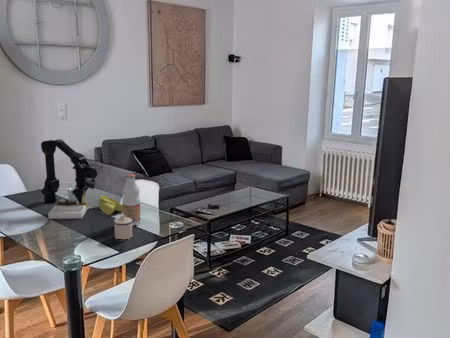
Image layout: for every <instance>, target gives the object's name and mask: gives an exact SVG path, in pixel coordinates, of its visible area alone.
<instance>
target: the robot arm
mask: <svg viewBox="0 0 450 338" xmlns="http://www.w3.org/2000/svg"><path fill="white" fill-rule="evenodd" d="M40 147H41V148H40V149H41V152H42V153H43V154H44V158H45V172H46V178H45V181H44V183H43V184H44V186H43V188H42V189H41V190H40V192H41V195H43V199H44V201H43V204H55V203H57V202H58V195H57V192H58V191H59V188H60V186H61V184H60V179H58V178H57V176H56V170H55V153H56V151H57V148H58V149H59V150H60V151H61V152H62V153H64V154H65V155H66V156H67V157H68V158H69V159H70V162H71V163H72V164H73V165H74V166H73V167H72V169H71V170H75V171H74V172H75V179H74V181H75V186H74V188H73V190H72V191H71V192H72V195H74V196H75V198H76V201H77V202H79V203H80V204H81V203H82V196H83V195H84V192H85V195H84V197H85V198H86V193H87V190H89V188H90V189H91V190H94V189H95V188H96V184H97V182H96V178H97V177H98V171H97V170H96V169H95V167H94V166H91V164H90V162H89V161H88V159H87V157H86V156H85V155H84V154H82V153H79V152H77V151H76V150H74V149H73V148H72V147H70V146H69V145H68V144H67V143H66V142H65V141H64V140H63V139H62V138H61V139H55V140H54V139H50V140H49V139H48V140H43V141H42V142H41V143H40Z"/></svg>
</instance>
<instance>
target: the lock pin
mask: <svg viewBox="0 0 450 338" xmlns="http://www.w3.org/2000/svg"><path fill="white" fill-rule="evenodd" d="M84 195H85V197H84ZM84 195H83V196H82V203H81V204H80V205H85V202H86V201H85V198H86V194H85V192H84Z"/></svg>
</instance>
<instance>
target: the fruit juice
mask: <svg viewBox="0 0 450 338" xmlns="http://www.w3.org/2000/svg"><path fill="white" fill-rule="evenodd" d="M125 178H126V180H125V184H124V186H123V187H122V192H121V193H122V194H123V196H122V203H121V204H122V205H123V212H122V215H125V217H127V218H131V219H132V227H135V226H134V225H137V224H139V223H140V224H141V199H140V192H141V191H140V187H139V186H138V185H137V182H136V174H134V173H127V174H126V175H125ZM140 224H139V225H140ZM137 226H138V225H137Z"/></svg>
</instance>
